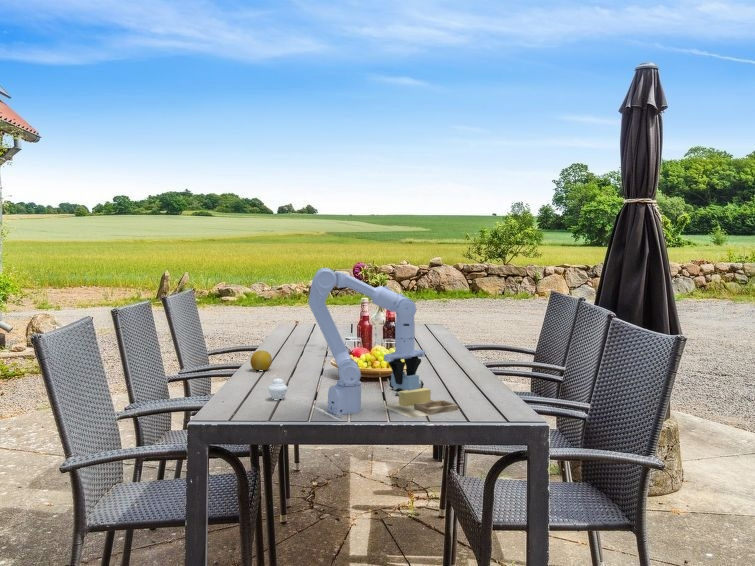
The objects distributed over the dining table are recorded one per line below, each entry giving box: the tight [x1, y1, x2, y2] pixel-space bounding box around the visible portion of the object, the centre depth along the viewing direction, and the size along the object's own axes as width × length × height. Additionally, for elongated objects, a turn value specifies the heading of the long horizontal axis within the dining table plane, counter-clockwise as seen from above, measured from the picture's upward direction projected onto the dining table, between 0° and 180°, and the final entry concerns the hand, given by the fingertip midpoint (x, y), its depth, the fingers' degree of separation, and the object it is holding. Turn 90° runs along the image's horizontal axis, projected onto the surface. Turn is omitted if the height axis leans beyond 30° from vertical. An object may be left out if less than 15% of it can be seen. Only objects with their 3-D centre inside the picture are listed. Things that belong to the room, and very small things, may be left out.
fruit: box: [250, 350, 273, 371], centre depth 251 cm, size 9×8×8 cm
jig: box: [381, 399, 460, 419], centre depth 190 cm, size 18×16×2 cm
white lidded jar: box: [268, 377, 288, 401], centre depth 204 cm, size 6×6×7 cm
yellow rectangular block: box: [398, 387, 432, 406], centre depth 196 cm, size 10×3×4 cm, turn 123°
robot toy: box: [387, 377, 425, 396], centre depth 213 cm, size 12×4×15 cm
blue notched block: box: [390, 371, 420, 391], centre depth 188 cm, size 8×4×4 cm, turn 39°
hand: (404, 383), depth 188 cm, fingers closed on blue notched block, 4 cm apart
